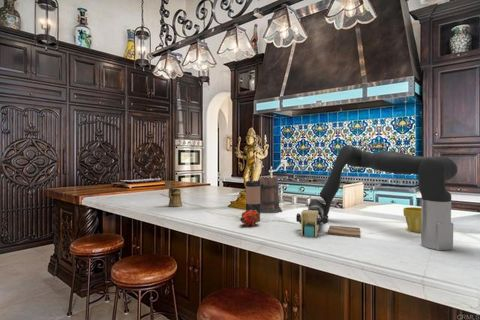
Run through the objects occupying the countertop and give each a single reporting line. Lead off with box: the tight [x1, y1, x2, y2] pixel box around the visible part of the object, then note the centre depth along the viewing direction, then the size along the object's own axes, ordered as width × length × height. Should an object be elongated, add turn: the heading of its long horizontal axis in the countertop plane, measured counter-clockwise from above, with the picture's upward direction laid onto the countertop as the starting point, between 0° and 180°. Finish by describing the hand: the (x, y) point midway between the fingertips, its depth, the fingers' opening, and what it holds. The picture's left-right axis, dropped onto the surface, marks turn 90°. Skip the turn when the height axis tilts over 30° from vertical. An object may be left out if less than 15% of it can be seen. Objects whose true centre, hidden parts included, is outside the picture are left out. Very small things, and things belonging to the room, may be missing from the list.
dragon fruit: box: [239, 209, 261, 227], centre depth 143 cm, size 8×8×12 cm
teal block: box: [303, 224, 315, 238], centre depth 127 cm, size 4×4×4 cm
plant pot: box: [403, 206, 421, 233], centre depth 134 cm, size 10×10×10 cm
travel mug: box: [245, 180, 261, 221], centre depth 157 cm, size 8×8×20 cm
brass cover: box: [300, 209, 319, 238], centre depth 127 cm, size 6×6×10 cm
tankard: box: [259, 176, 283, 214], centre depth 179 cm, size 24×17×20 cm
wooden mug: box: [163, 179, 183, 208], centre depth 195 cm, size 9×14×18 cm, turn 151°
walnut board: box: [326, 225, 361, 238], centre depth 131 cm, size 13×13×1 cm
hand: (309, 222), depth 125 cm, fingers closed on brass cover, 6 cm apart
